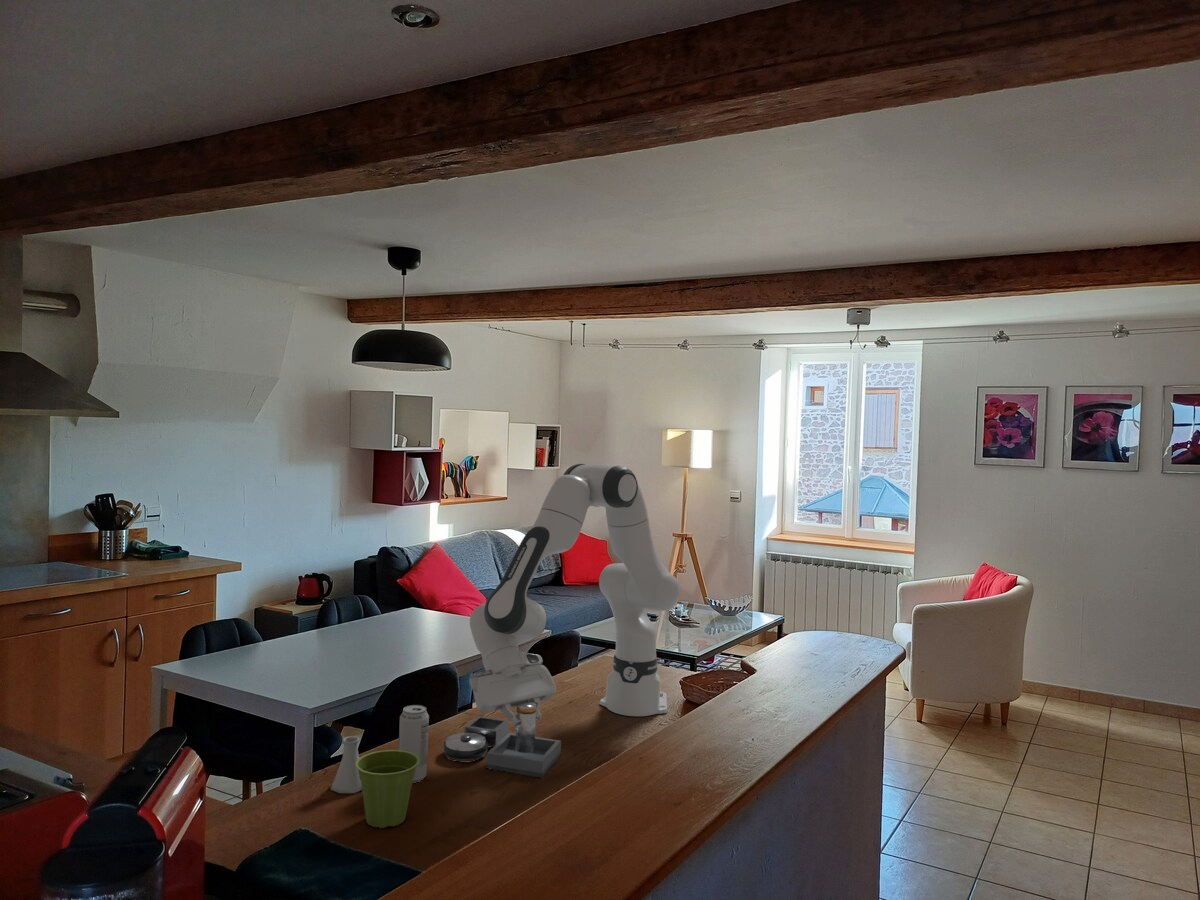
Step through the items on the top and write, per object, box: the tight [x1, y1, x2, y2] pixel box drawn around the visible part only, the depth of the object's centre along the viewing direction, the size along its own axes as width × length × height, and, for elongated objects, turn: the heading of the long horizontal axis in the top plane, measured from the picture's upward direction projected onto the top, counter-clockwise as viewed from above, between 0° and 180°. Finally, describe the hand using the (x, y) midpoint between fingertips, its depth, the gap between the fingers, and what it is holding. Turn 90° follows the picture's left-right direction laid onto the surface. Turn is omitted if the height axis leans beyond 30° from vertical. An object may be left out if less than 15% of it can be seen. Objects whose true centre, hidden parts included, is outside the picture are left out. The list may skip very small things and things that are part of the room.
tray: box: [485, 732, 562, 778], centre depth 186 cm, size 13×13×4 cm
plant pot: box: [355, 749, 420, 829], centre depth 156 cm, size 12×12×11 cm
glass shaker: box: [515, 702, 537, 753], centre depth 186 cm, size 4×4×10 cm
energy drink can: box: [398, 704, 430, 784], centre depth 175 cm, size 6×6×15 cm
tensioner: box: [442, 715, 510, 761], centre depth 193 cm, size 19×10×4 cm, turn 165°
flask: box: [330, 736, 362, 794], centre depth 170 cm, size 7×7×10 cm
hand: (527, 721), depth 186 cm, fingers closed on glass shaker, 4 cm apart
